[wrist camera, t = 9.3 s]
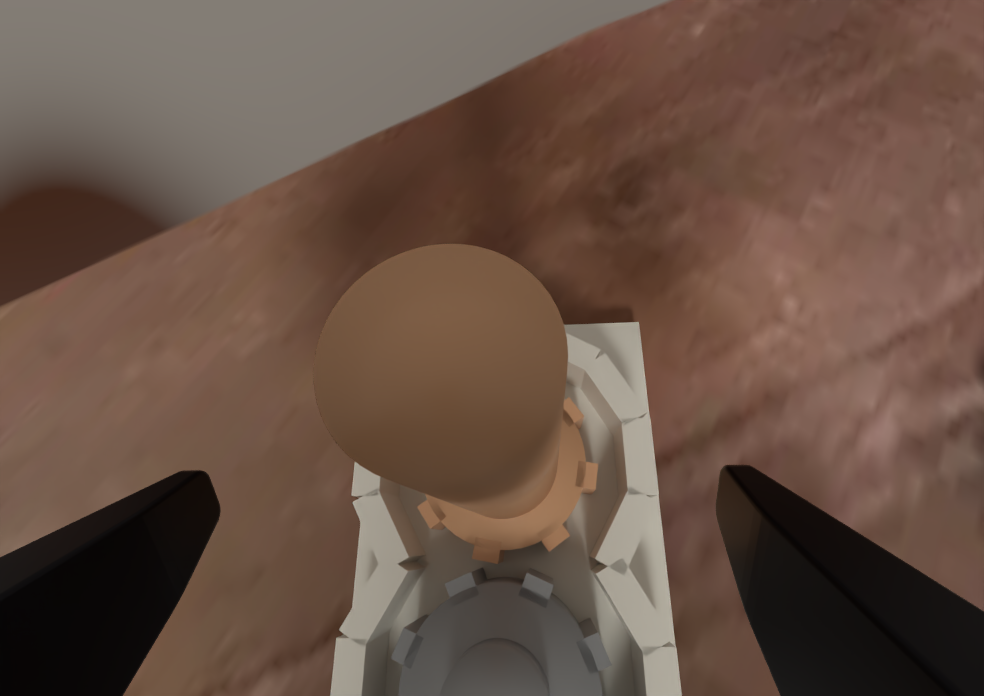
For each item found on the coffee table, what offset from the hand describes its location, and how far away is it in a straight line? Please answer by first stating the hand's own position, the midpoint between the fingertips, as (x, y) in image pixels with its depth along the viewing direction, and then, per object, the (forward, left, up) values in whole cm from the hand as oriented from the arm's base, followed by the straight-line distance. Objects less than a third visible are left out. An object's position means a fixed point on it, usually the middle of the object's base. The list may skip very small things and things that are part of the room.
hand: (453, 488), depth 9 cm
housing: (-1, +1, -12) cm, 12 cm away
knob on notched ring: (+1, -2, -11) cm, 11 cm away
